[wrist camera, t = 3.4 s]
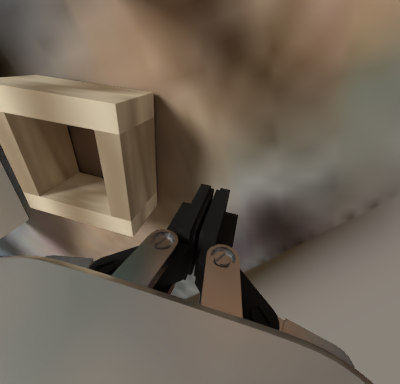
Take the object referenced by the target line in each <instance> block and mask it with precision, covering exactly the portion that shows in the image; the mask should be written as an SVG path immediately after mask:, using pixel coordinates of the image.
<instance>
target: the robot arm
mask: <svg viewBox="0 0 400 384" xmlns="http://www.w3.org/2000/svg"><path fill="white" fill-rule="evenodd" d="M213 193H214V189H211V186H209V185H205V184H201V186H200V188H199V190H198V191H197V193H196V195H195V197H194V199H193V201H192V203H191V204H190V203H186V202H183V203H182V205H181V207H180V208H179V210H178V212H177V213H176V215H175V217H174V218H173V220H172V222H171V223H170V225H169V227H168V228H167V230H166V229H161V230H156V231H154V232H152V233H151V234H150V235H149V236H148V237H147V238H146V239H145V240H144V241H143V242H142V243H141V244H140V245H139V246H137V247H134V248H131V249H127V250H124V251H121V252H118V253H115V254H112V255H109V256H106V257H103V258H100V259H98V260H96V261H93V258H81V257H68V256H55V255H53V256H46V257H39V256H26V255H20V256H5V257H0V384H373V383H372V382H371V381H370V380H369V379H367V378H366V377H365V376H364V375H363V374H361V373H360V372H359V371H357V370H356V369H355V368H354V365H353V363H352V361H351V360H350V358H349V357H348V356H347V355H346V354H345V352H344V351H343V350H341V349H340V348H338V347H337V346H336V345H334V344H332V343H330V342H329V341H327V340H325V339H323V338H321V337H319V336H317V335H316V334H314V333H312V332H310V331H308V330H306V329H305V328H303V327H301V326H299V325H297V324H295V323H294V322H292V321H290V320H288V319H285V320H283V319H281V318H279V317H277V315H276V313H275V312H274V310H273V309H272V308H271V306H270V305H269V304H268V303H267V301H266V300H265V299H264V298H263V297H262V295H261V294H260V293H259V292H258V290H257V289H256V288H255V287H254V286H253V284H252V283H251V282H250V281H249V280H248V278H247V277H246V276H245V275H244V273H243V272H242V271H241V270H240V263H239V256H238V254H237V252H236V251H235V250H234V249H233V248H232V246H233V241H234V235H235V230H236V224H237V219H238V215H236V214H232V213H228V212H226V208H227V203H228V198H229V193H230V190H227V189H223V188H221V189H220V190H216V192H215V195H214V197H213ZM212 199H213V200H212ZM195 263H196V265H195ZM194 266H195V272H194V276H196V279H195V284H196V286H197V288H198V290H199V291H200V299H199V304H198V303H195V302H192V301H188V300H185V299H182V298H179V297H176V296H173V295H170V294H171V293H172V291H173V289H174V288H175V285H176V282H179V281H181V280H186V277H187V275H188V274H189V275H191V274H192V272H193V269H194Z"/></svg>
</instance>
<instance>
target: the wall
mask: <svg viewBox="0 0 400 384" xmlns="http://www.w3.org/2000/svg"><path fill="white" fill-rule="evenodd" d="M28 220H29V218H28V216H27V214H26V212H25V210H24V208H23V206H22V204H21V202H20V200H19V198H18V196H17V194H16V192H15V190H14V188H13V186H12V184H11V182H10V180H9V178H8V176H7V174H6V172H5V170H4V167H3V165H2V163H1V161H0V239H1V238H2V237H4V236H5V235H7V234H8V233H10V232H11V231H13V230H14V229H16V228H17V227H19V226H20V225H22V224H23V223H25V222H26V221H28Z"/></svg>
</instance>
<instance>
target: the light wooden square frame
mask: <svg viewBox="0 0 400 384" xmlns="http://www.w3.org/2000/svg"><path fill="white" fill-rule="evenodd" d="M67 125H72V126H77V127H82V128H87V129H92V130H94V132H95V137H96V142H97V147H98V152H99V157H100V162H101V167H102V172H103V177H104V178H101V177H97V176H93V175H88V174H84V173H80V172H79V169H78V165H77V162H76V158H75V154H74V150H73V147H72V143H71V139H70V136H69V132H68V128H67ZM0 144H1V146H2V148H3V151H4V153H5V155H6V157H7V159H8V161H9V163H10V165H11V167H12V170H13V172H14V174H15V176H16V178H17V180H18V182H19V184H20V186H21V189H22V191H23V193H24V195H25V197H26V199H27V201H28V203H29V205H30V208H34V209H37V210H41V211H44V212H48V213H51V214H55V215H58V216H61V217H65V218H68V219H72V220H75V221H79V222H82V223H86V224H89V225H93V226H96V227H100V228H103V229H107V230H110V231H114V232H117V233H121V234H124V235H128V236H131V237H133V236H134V235H135V234H136V232H137V231H138V230H139V228H140V227H141V226H142V225H143V223H144V222H145V221H146V219H147V218H148V217H149V215H150V214H151V213H152V211H153V210H154V209H155V207H156V206H157V183H156V155H155V127H154V99H153V92H147V91H141V90H134V89H127V88H121V87H114V86H107V85H101V84H94V83H87V82H80V81H74V80H67V79H60V78H54V77H47V76H40V75H27V76H14V77H1V78H0Z"/></svg>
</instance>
